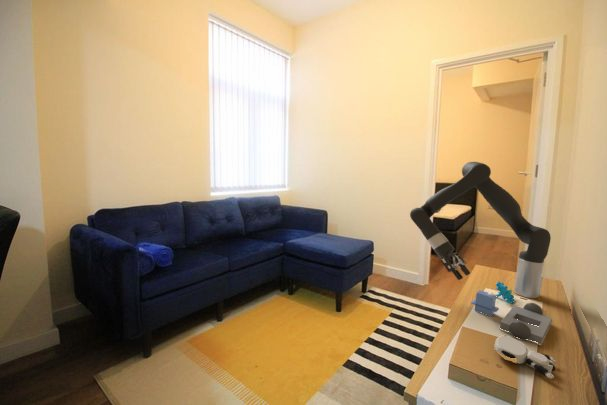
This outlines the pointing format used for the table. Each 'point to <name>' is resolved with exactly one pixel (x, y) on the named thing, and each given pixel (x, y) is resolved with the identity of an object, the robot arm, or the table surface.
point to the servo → (485, 302)
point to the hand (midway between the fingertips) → (464, 276)
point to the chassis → (527, 315)
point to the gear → (504, 292)
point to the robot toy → (525, 355)
